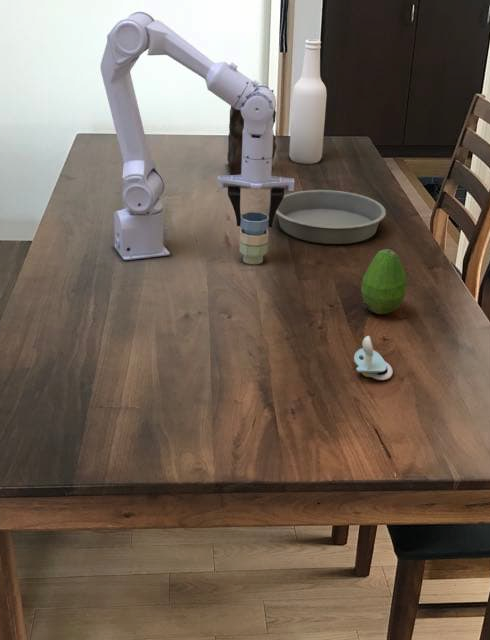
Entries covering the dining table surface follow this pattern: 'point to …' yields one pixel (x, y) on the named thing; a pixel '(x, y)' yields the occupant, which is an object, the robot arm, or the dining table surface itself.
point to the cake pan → (329, 216)
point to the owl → (239, 141)
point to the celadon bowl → (253, 253)
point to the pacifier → (371, 362)
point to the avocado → (384, 283)
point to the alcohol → (308, 109)
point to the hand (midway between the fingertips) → (254, 224)
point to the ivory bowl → (253, 238)
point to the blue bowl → (254, 223)
